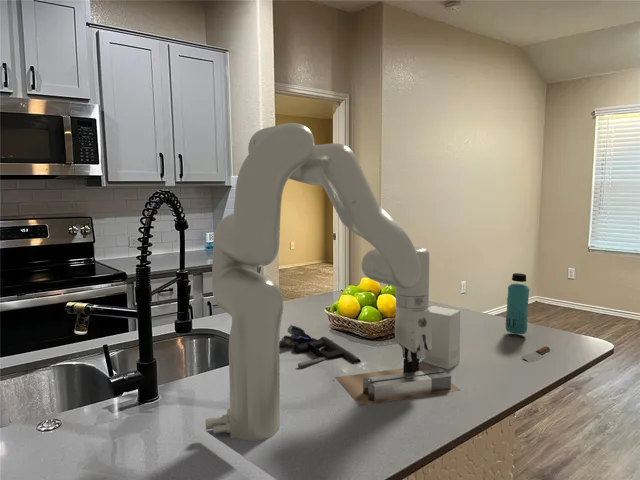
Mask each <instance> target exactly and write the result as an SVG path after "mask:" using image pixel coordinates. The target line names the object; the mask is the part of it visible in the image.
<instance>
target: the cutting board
mask: <svg viewBox="0 0 640 480" xmlns="http://www.w3.org/2000/svg"><path fill="white" fill-rule="evenodd" d="M428 369H432V367H430V366H428V365H427V364H424V365H419V371H421V370H428ZM400 373H404V367H403V368H396V369H388V370H380V371H373V372H366V373H357V374H350V375H349V374H348V375H341V376H335V379H336V380H337V381H338V382H339V383H340V385H341V386H342V387H343V389H345V391H346V392H347V393H348V394H349V396H350V397H351V398H352V399H353V400H354V402H355V403H356V404H357V406H358V407H359V406H360V407H361V406H368V405H374V404H380V403H386V402H394V401H399V400H400V401H401V400H405V399H406V400H407V399H412V398H418V397H425V396H432V395H439V394H443V393H444V394H445V393H452V392H459V391H461V389H460V388H458V387H457V386H456V385H454V384H453V383H452V382H451V390H444V391H437V392H430V393H423V394H417V395H410V396H404V397H397V398H391V399H384V400H377V401H370V400H368V394H364V393H363V379H364V378H369V377H377V376H384V375H392V374H400Z"/></svg>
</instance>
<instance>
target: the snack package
mask: <svg viewBox="0 0 640 480" xmlns="http://www.w3.org/2000/svg"><path fill="white" fill-rule="evenodd" d="M287 333H289V335H284V336H283V337H282V338H281V340H279V347H281V346H283V347H284V346H295V345H298V344H302V343H306V342H310V341H314V340H318V338H317V339H316V338H314V337H311V336H310V335H309V334H306V332H305V330H304V329H303V328H301V327H298V326H296V325H292V324H290V325H289V326H288V328H287Z"/></svg>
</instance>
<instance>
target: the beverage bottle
mask: <svg viewBox="0 0 640 480" xmlns="http://www.w3.org/2000/svg"><path fill="white" fill-rule="evenodd" d="M511 277H512V278H511V281H513V282H514V283H511V284H509V285H508V286H507V298H506V316H505V326H504V327H505V330H506V332H508V333H511V334H515V335H524V334H526V333H527V332H528V318H529V316H528V315H529V300H530V299H529V296H530V288H529V286H527V285H526V284H525V283H523V282H527V275H526V274H525V273H521V272H520V273H519V272H517V273H513V274H512V276H511ZM516 282H517V283H516ZM518 282H520V283H518Z"/></svg>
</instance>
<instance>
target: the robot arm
mask: <svg viewBox="0 0 640 480" xmlns="http://www.w3.org/2000/svg"><path fill="white" fill-rule="evenodd" d="M247 147H248V155H247V156H246V157H245V159H244V161H243V162H242V164H241V167H240V169H239V171H238V174H237V179H236V183H235V192H234V195H235V196H234V204H233V213H231V214H229V215H227V216H225V217H223V218H222V220H221V221H220V222H219V224H217V227H216V229H215V232H214V236H213V242H212V244H213V245H212V263H211V264H212V265H211V266H212V267H211V269H212V271H211V272H212V273H211V289H212V295H213V300H214V301H215V303H216V304H217V306H218V308H219V307H220V308H221V309H222V310H223V311H224V312H226V313H227V314H228V315H229V316H231V327H230V328H231V329H230V331H229V337H228V363H229V364H228V366H229V367H228V370H229V372H228V374H229V408H227V409H226V414H222V415H221V416H218V417H211V418H210V417H209V418H205V430H211V429H212V432H213V434H214V435H215V434H220V433H226V434H229V437H230V439H232V440H233V439H239V440H242V441H247V442H248V441H249V442H250V441H251V442H254V441H255V442H256V441H262V440H266V439H268V438H272V437H273V436H275V435H276V434H277V433H278V432H279V430H280V428H281V396H280V395H281V390H280V389H281V386H280V385H281V384H280V383H281V379H280V378H281V375H280V369H281V367H280V362H281V361H280V359H281V358H280V346H279V342H280V337H281V333H280V332H281V326H282V319H283V314H284V296H283V293H282V291H281V289H280V286H279V285H278V284H277V283H276V282H275V281H274V280H272V279H271V278H269V276H265V275H264V274H261V273H259V272H258V268H263V267H266V266H268V265H270V264H271V263H273V261H275V259H276V258H277V256H278V253H279V250H280V235H281V233H280V232H281V215H282V214H281V212H282V211H281V209H282V199H283V191H284V189H285V185H286V183H287V182H288V180H292V181H295V182H299V183H304V184H306V185H312V186H322V187H323V189H324V191H325V193H326V195H327V196H328V199H329V200H330V202H331V204H332V207H333V208H334V210H335V213H336V214H337V216H338V218H339V220H340V221H341V223H342V224H343V226H345V228H347V229H349V230H350V231H351V232H352V233H354V234H356V235H357V236H359V237H361V238H362V239H364V240H365V241H367V243H370V245H371V246H372V247H374V249H371V250H369V251H368V252H366V253H365V255H364V256H363V257H362V260H361V264H360V265H361V266H360V267H361V271H362V272H363V274H364V276H366V277H367V278H368V279H369V280H371V281H374V282H376V283H380V284H383V285H388V286H391V287H394V288H395V318H394V338H395V340H396V342H397V343H398V344H399V346H400V347H401V349H402V358H403V368H404V373H407V372H415V371H419V366H420V361H421V359H424V358H425V349H426V350H427V351H430V350H431V349H432V329H431V318H430V312H429V309H428V308H429V307H430V306H429V305H430V304H429V299H430V252H429V250H428V249H427V248H425V247H422V246H414V244H413V242H412V240H411V238H410V236H409V235H408V233H406V231H405V230H404V229H403V228H402V227H401V225H400V224H399V223H398V222H397V221H396V220H395V219H394V218H393V217H392V216H391V215H390V214H389V213H388V212H387V211H386V210H385V209H383V207H381V205H380V204H379V202H378V201H377V199H376V197H375V195H374V192H373V190H372V188H371V186H370V184H369V181H368V180H367V177H366V175H365V173H364V171H363V170H362V167H361V165H360V163H359V161H358V158H357V157H356V155H355V153H354V152H353V150H352V149H351V148H350V147H349V146H348V145H346V144H343V143H335V142H334V143H324V144H315V138H314V134H313V133H312V131H311V129H310V128H309V127H307V126H306V125H304V124H301V123H297V122H286V123H282V124H277V125H273V126H270V127H269V126H268V127H264V128H262V129H259V130H258V131H256V132H255V133H254V134H253V135H252V136H251V137H250V139H249V141H248V146H247Z"/></svg>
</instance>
